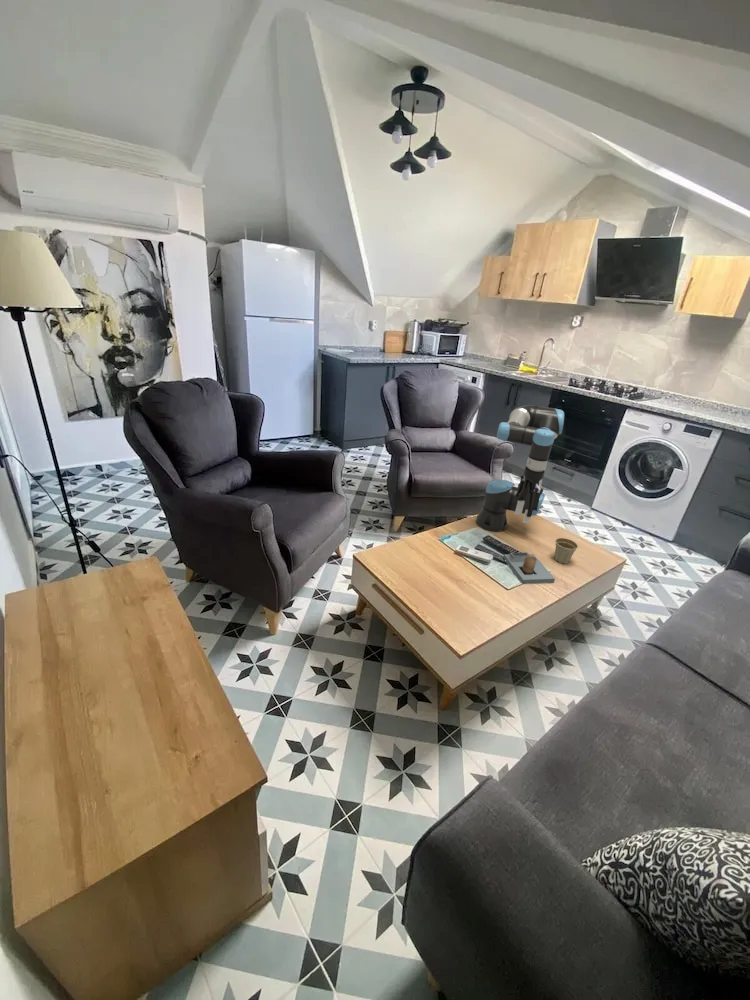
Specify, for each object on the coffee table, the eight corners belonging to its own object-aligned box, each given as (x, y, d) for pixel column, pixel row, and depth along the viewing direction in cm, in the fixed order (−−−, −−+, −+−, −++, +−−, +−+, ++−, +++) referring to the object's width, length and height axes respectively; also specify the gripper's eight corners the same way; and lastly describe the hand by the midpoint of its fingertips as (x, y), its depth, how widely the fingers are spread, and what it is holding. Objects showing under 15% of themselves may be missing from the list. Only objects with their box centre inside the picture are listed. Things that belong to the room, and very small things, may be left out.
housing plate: (503, 558, 182) (504, 554, 182) (532, 557, 185) (533, 553, 184) (522, 583, 167) (523, 579, 166) (553, 582, 169) (555, 578, 168)
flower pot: (548, 561, 183) (554, 544, 180) (551, 551, 191) (556, 535, 187) (571, 568, 180) (577, 551, 176) (573, 558, 187) (578, 541, 184)
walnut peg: (518, 571, 174) (523, 555, 171) (528, 571, 175) (533, 555, 172) (523, 577, 170) (528, 561, 167) (533, 577, 171) (538, 561, 168)
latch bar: (508, 557, 180) (510, 551, 178) (525, 557, 181) (527, 551, 180) (511, 561, 177) (513, 555, 176) (529, 561, 178) (530, 555, 177)
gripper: (515, 459, 175) (503, 507, 185) (538, 477, 157) (524, 530, 168) (532, 459, 176) (519, 507, 186) (556, 477, 159) (541, 529, 169)
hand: (521, 518), depth 177 cm, fingers open, 6 cm apart
